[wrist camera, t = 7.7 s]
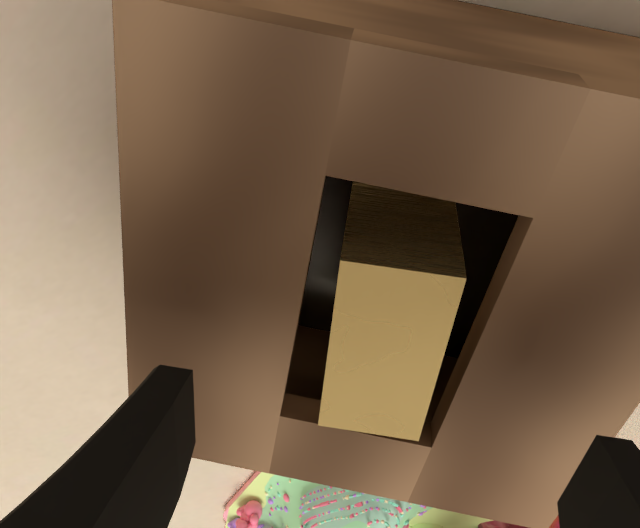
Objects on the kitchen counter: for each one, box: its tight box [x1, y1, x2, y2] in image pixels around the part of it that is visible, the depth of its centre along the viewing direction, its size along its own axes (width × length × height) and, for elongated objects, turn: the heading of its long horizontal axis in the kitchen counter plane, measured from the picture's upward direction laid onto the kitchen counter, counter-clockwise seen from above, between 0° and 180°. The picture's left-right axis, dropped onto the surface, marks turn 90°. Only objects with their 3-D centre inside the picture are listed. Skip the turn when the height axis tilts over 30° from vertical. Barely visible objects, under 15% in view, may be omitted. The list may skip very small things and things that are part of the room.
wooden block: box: [318, 181, 467, 441], centre depth 15 cm, size 2×5×6 cm, turn 175°
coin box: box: [112, 0, 640, 528], centre depth 15 cm, size 12×12×6 cm
